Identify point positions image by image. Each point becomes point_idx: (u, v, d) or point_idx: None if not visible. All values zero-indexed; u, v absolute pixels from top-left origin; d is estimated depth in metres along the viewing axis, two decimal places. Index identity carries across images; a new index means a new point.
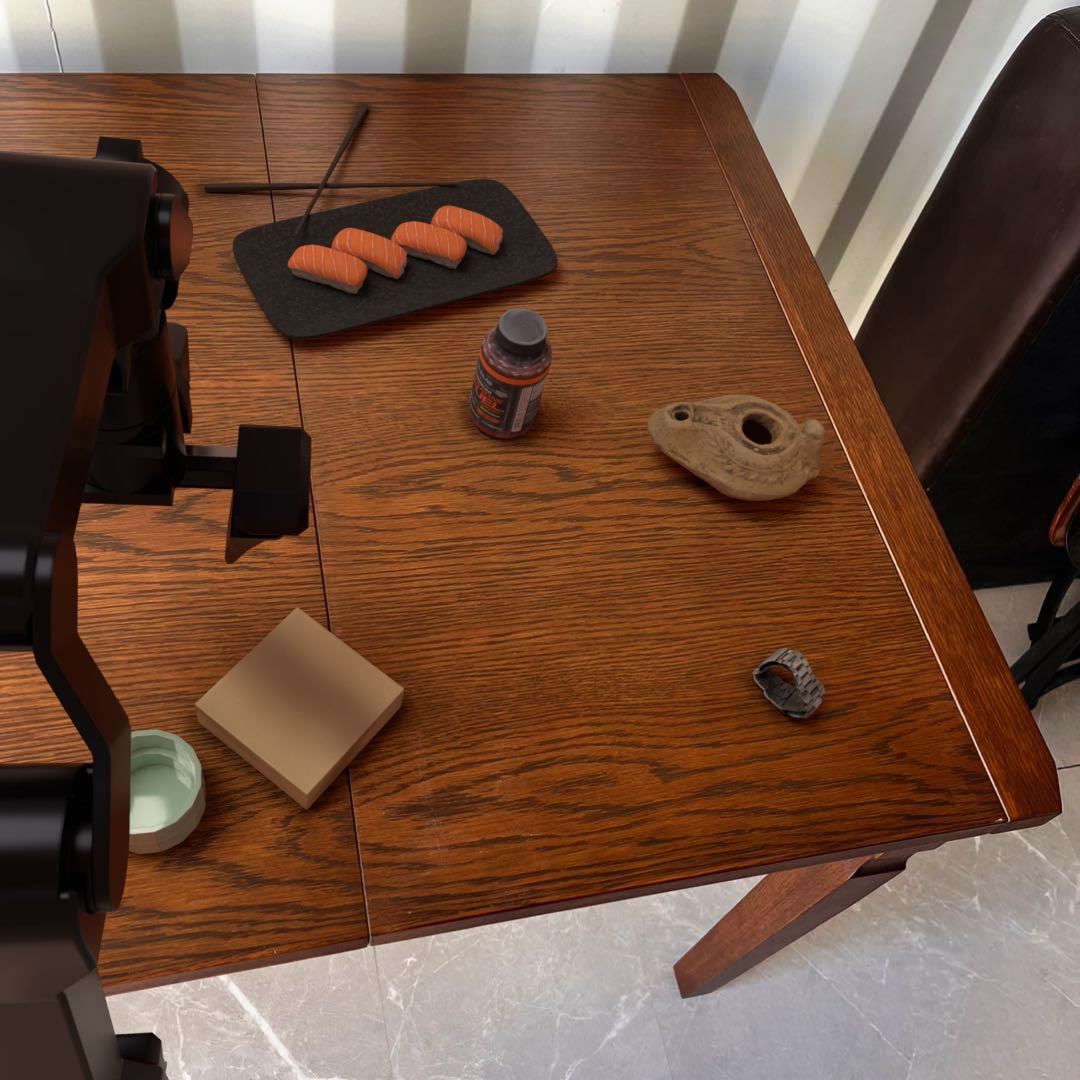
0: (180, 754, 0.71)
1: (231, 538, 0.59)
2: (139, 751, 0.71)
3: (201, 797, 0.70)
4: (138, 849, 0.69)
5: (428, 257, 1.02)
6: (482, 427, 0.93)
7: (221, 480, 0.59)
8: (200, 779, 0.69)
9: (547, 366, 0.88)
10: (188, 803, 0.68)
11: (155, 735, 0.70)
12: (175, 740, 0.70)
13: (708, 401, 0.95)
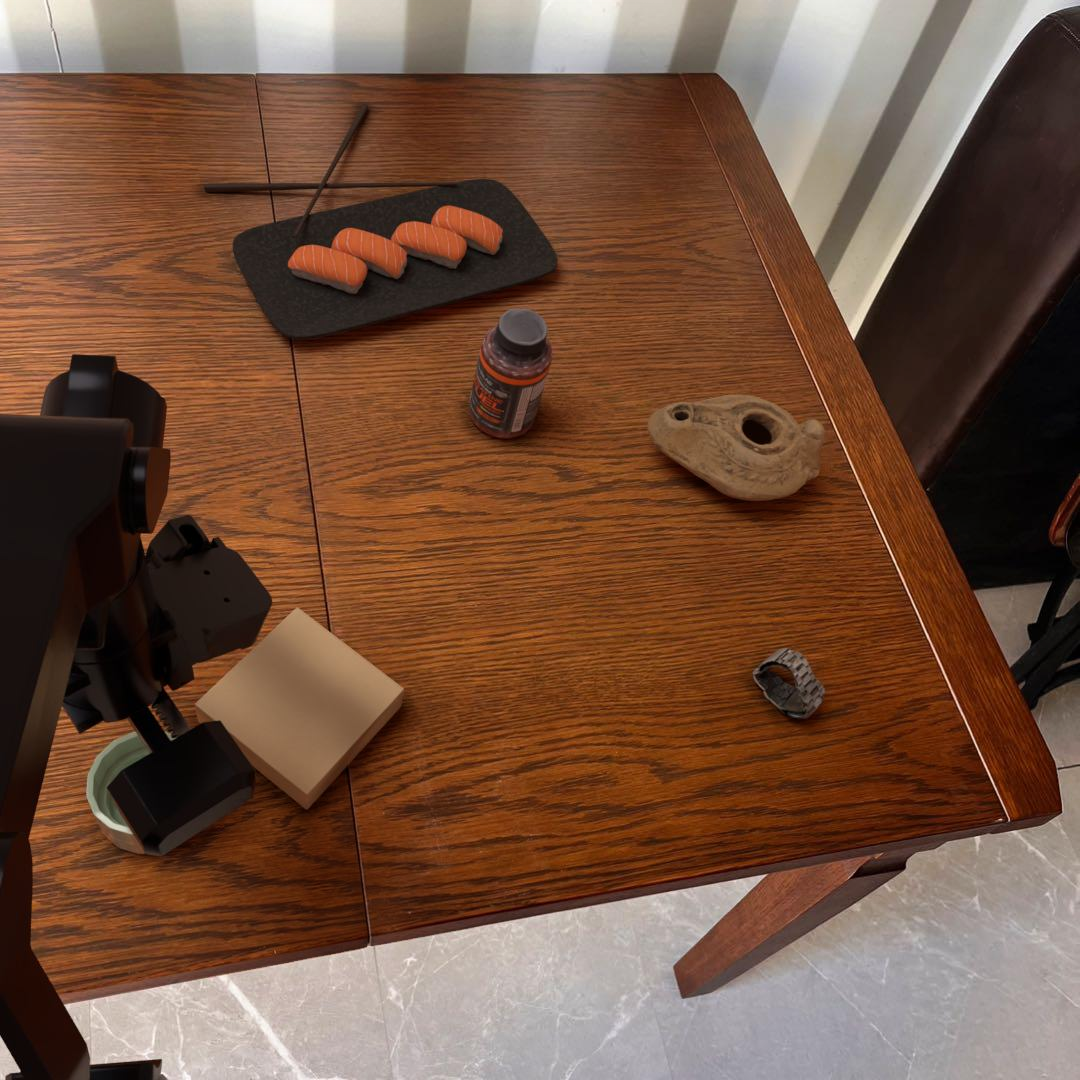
0: None
1: None
2: (139, 751, 0.71)
3: None
4: (138, 849, 0.69)
5: (428, 257, 1.02)
6: (482, 427, 0.93)
7: (148, 749, 0.55)
8: None
9: (547, 366, 0.88)
10: None
11: None
12: None
13: (708, 401, 0.95)
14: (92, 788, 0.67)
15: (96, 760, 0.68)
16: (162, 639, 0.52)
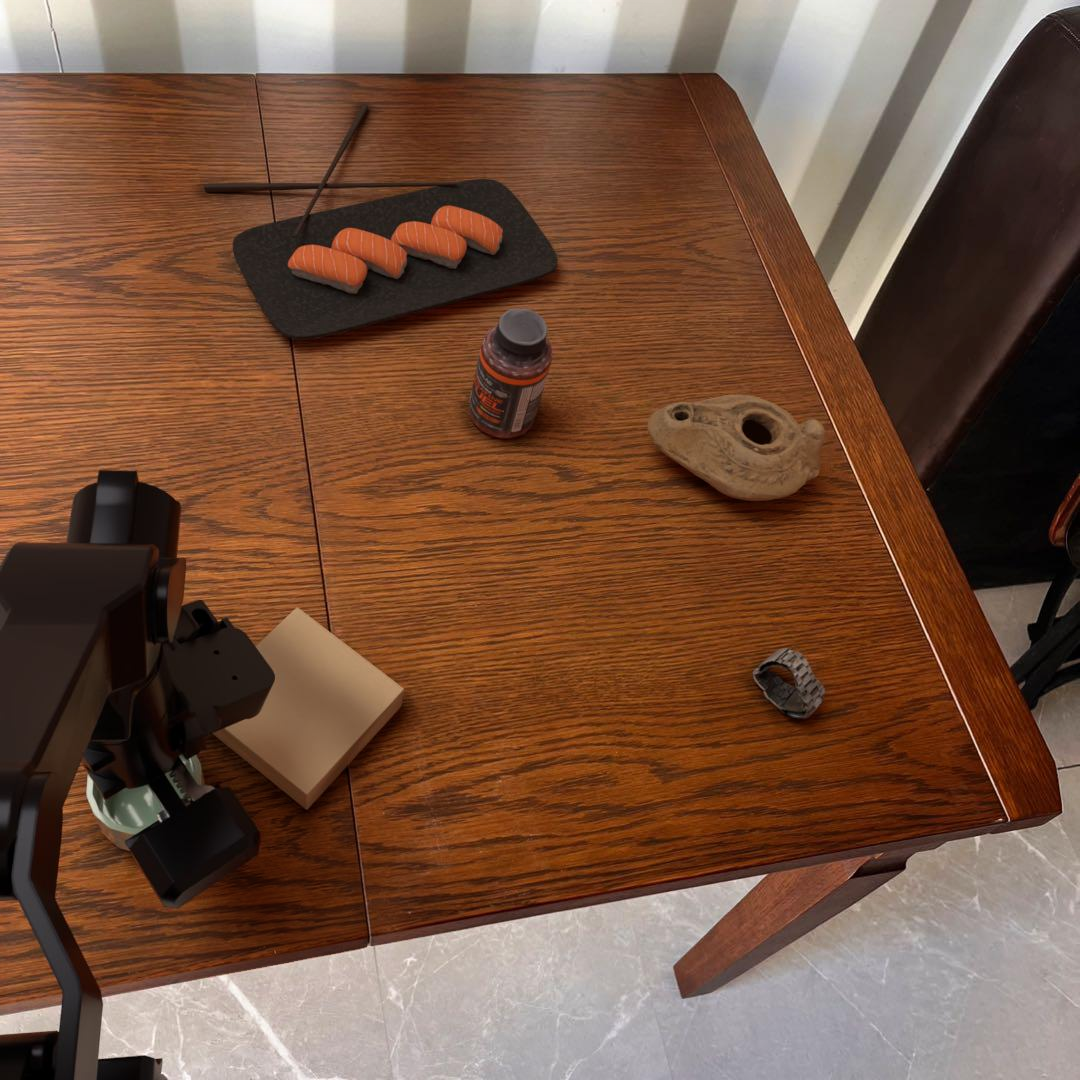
0: None
1: (126, 843, 0.62)
2: None
3: None
4: None
5: (428, 257, 1.02)
6: (482, 427, 0.93)
7: (165, 812, 0.62)
8: (200, 779, 0.69)
9: (547, 366, 0.88)
10: None
11: None
12: None
13: (708, 401, 0.95)
14: (92, 788, 0.67)
15: None
16: (178, 718, 0.59)
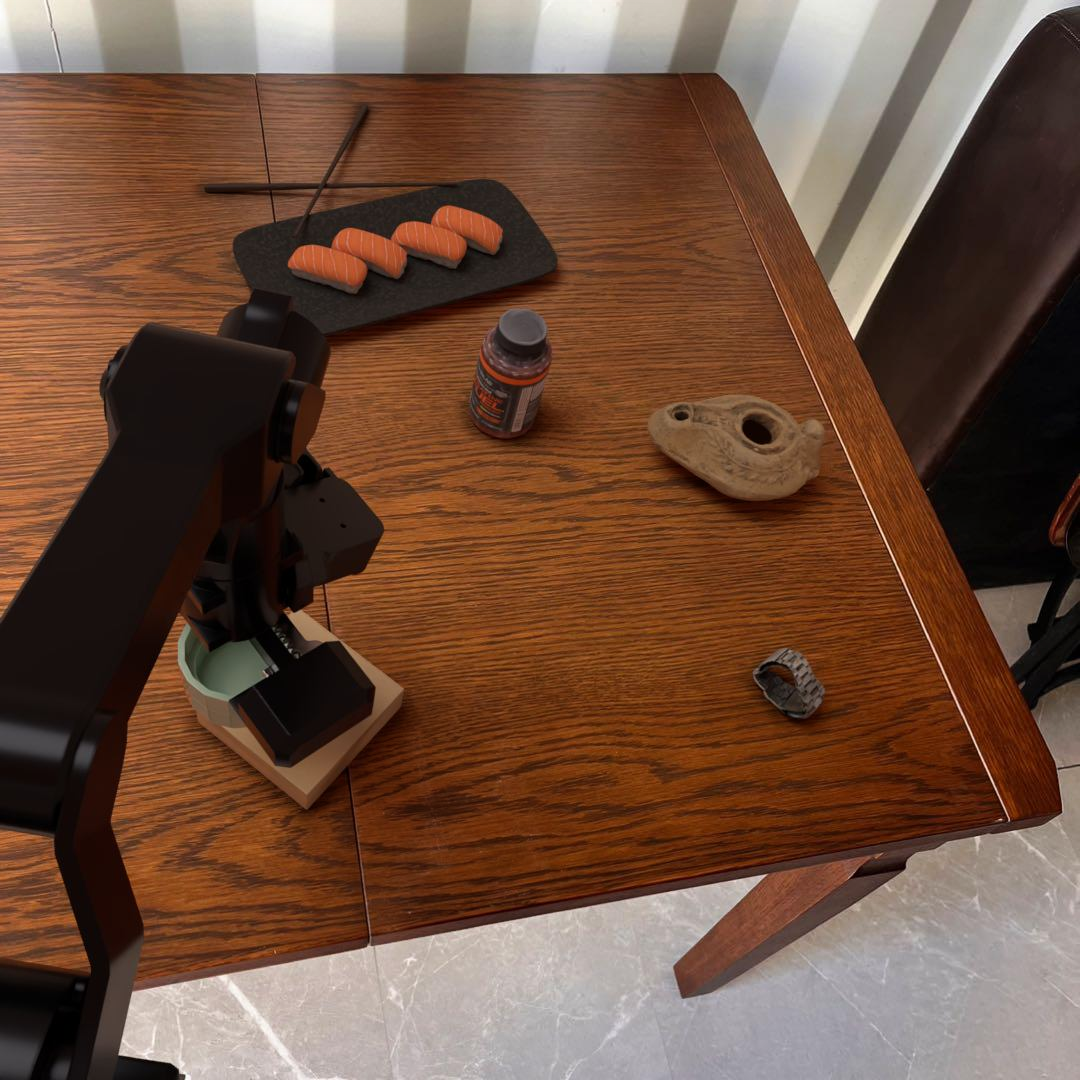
0: None
1: (230, 702, 0.58)
2: None
3: None
4: (231, 722, 0.64)
5: (428, 257, 1.02)
6: (482, 427, 0.93)
7: (273, 668, 0.57)
8: None
9: (547, 366, 0.88)
10: None
11: None
12: None
13: (708, 401, 0.95)
14: (184, 654, 0.63)
15: (186, 626, 0.64)
16: (291, 560, 0.54)
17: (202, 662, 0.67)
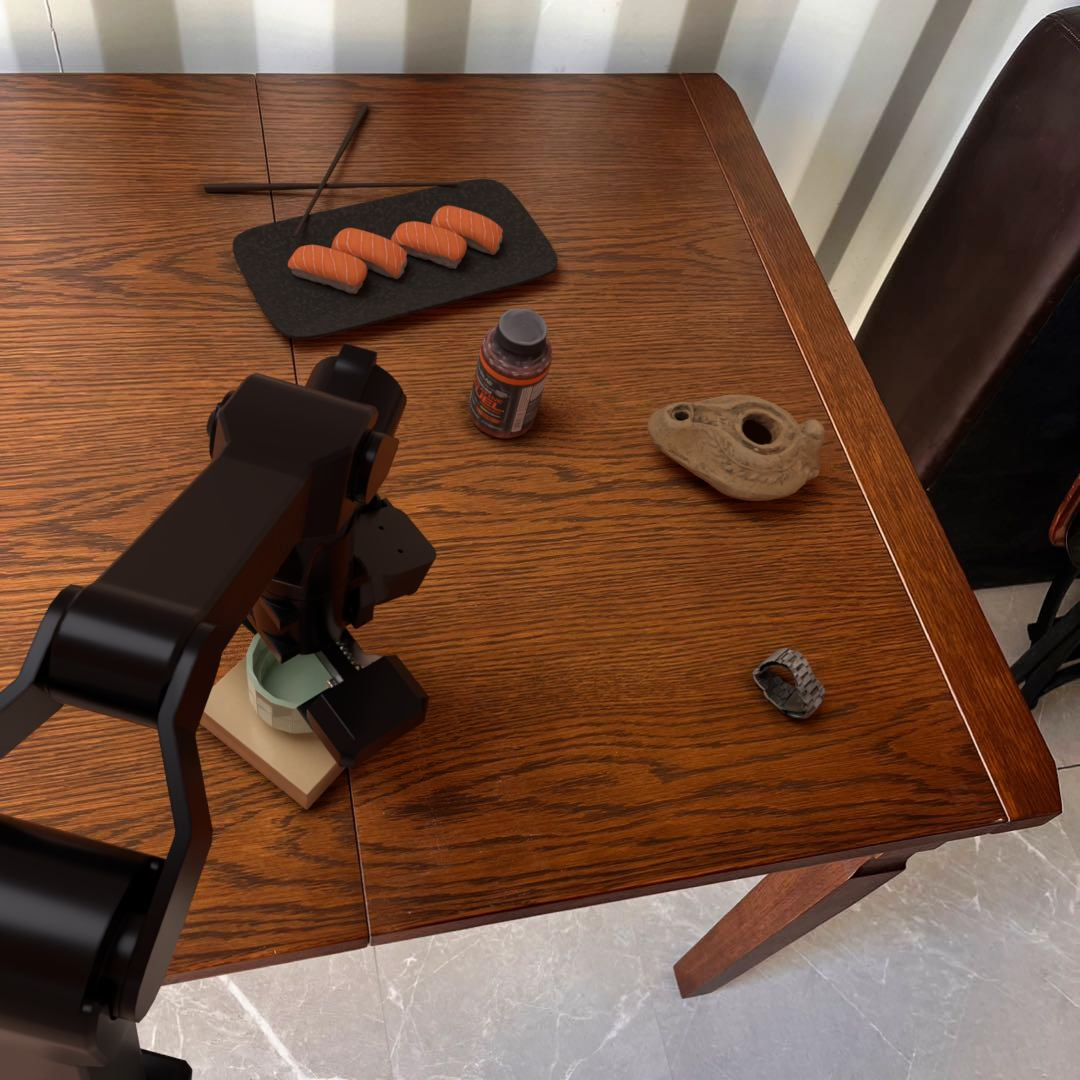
0: None
1: None
2: None
3: None
4: (293, 728, 0.71)
5: (428, 257, 1.02)
6: (482, 427, 0.93)
7: (337, 678, 0.63)
8: None
9: (547, 366, 0.88)
10: None
11: None
12: None
13: (708, 401, 0.95)
14: (252, 665, 0.69)
15: (253, 640, 0.70)
16: (357, 582, 0.61)
17: (265, 673, 0.73)
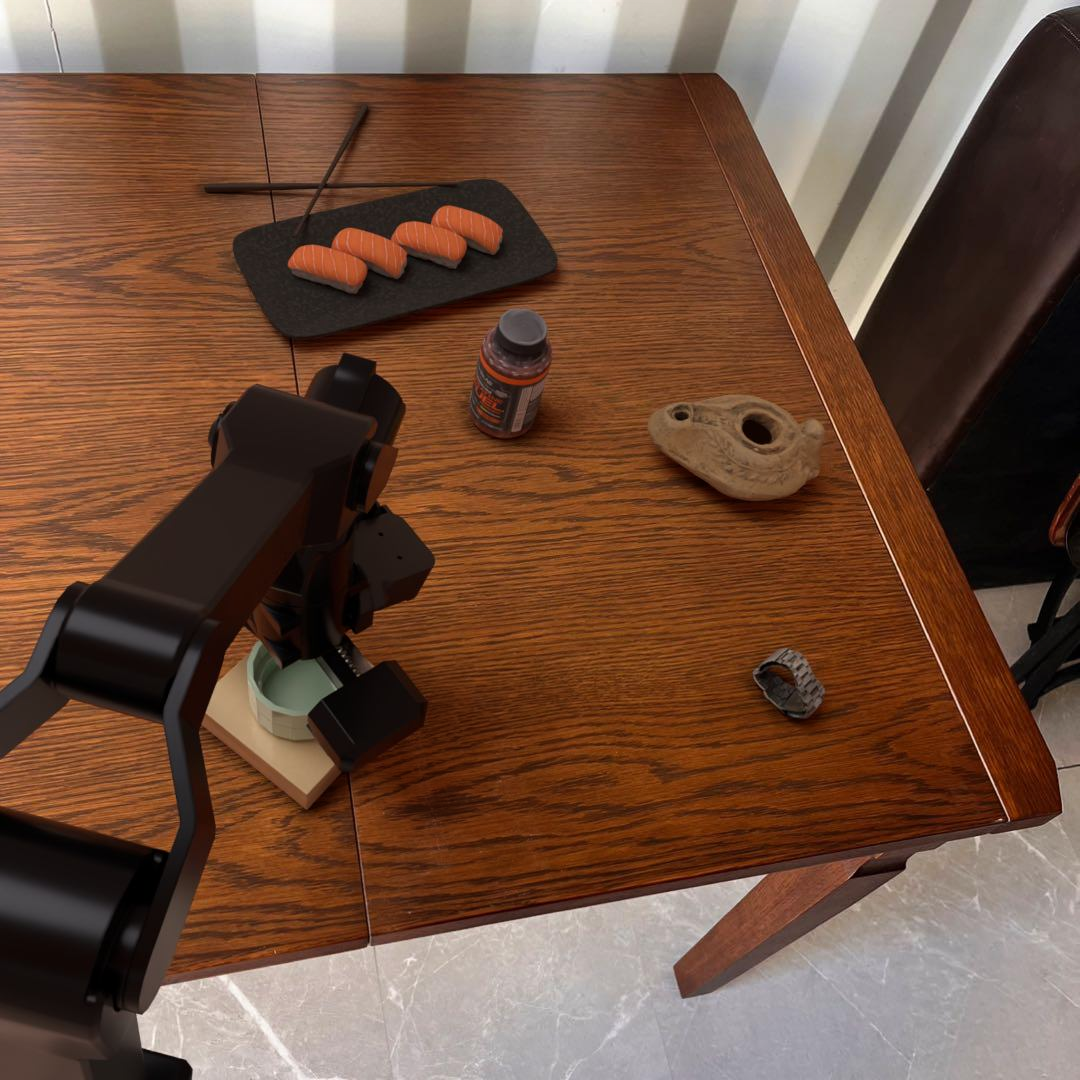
0: None
1: (307, 727, 0.64)
2: None
3: None
4: (293, 735, 0.72)
5: (428, 257, 1.02)
6: (482, 427, 0.93)
7: (337, 683, 0.64)
8: None
9: (547, 366, 0.88)
10: None
11: None
12: None
13: (708, 401, 0.95)
14: (252, 673, 0.70)
15: (254, 648, 0.71)
16: (356, 588, 0.62)
17: (265, 680, 0.74)
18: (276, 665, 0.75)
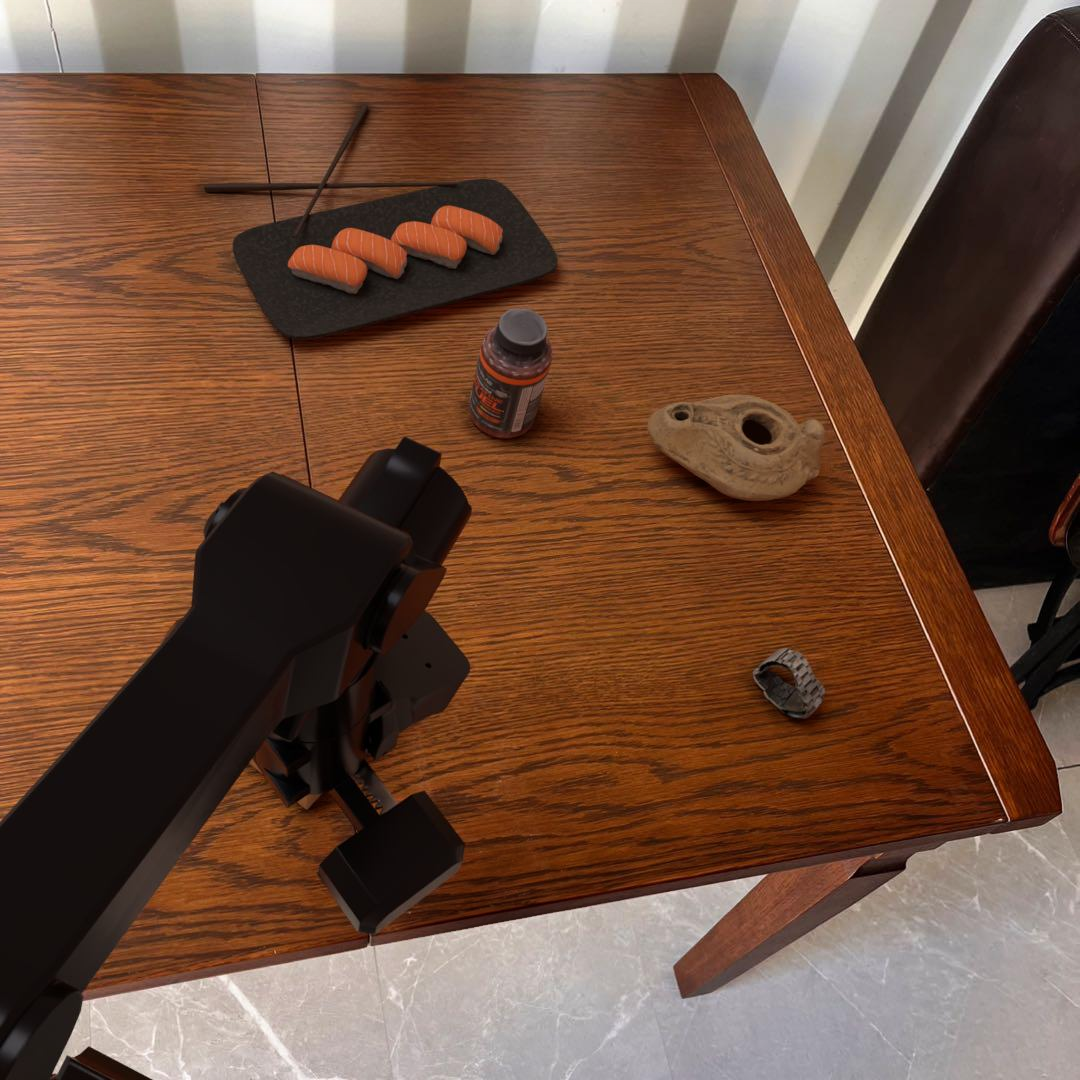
0: None
1: (317, 874, 0.53)
2: None
3: None
4: None
5: (428, 257, 1.02)
6: (482, 427, 0.93)
7: (354, 822, 0.53)
8: None
9: (547, 366, 0.88)
10: None
11: None
12: None
13: (708, 401, 0.95)
14: None
15: None
16: (379, 712, 0.50)
17: None
18: None
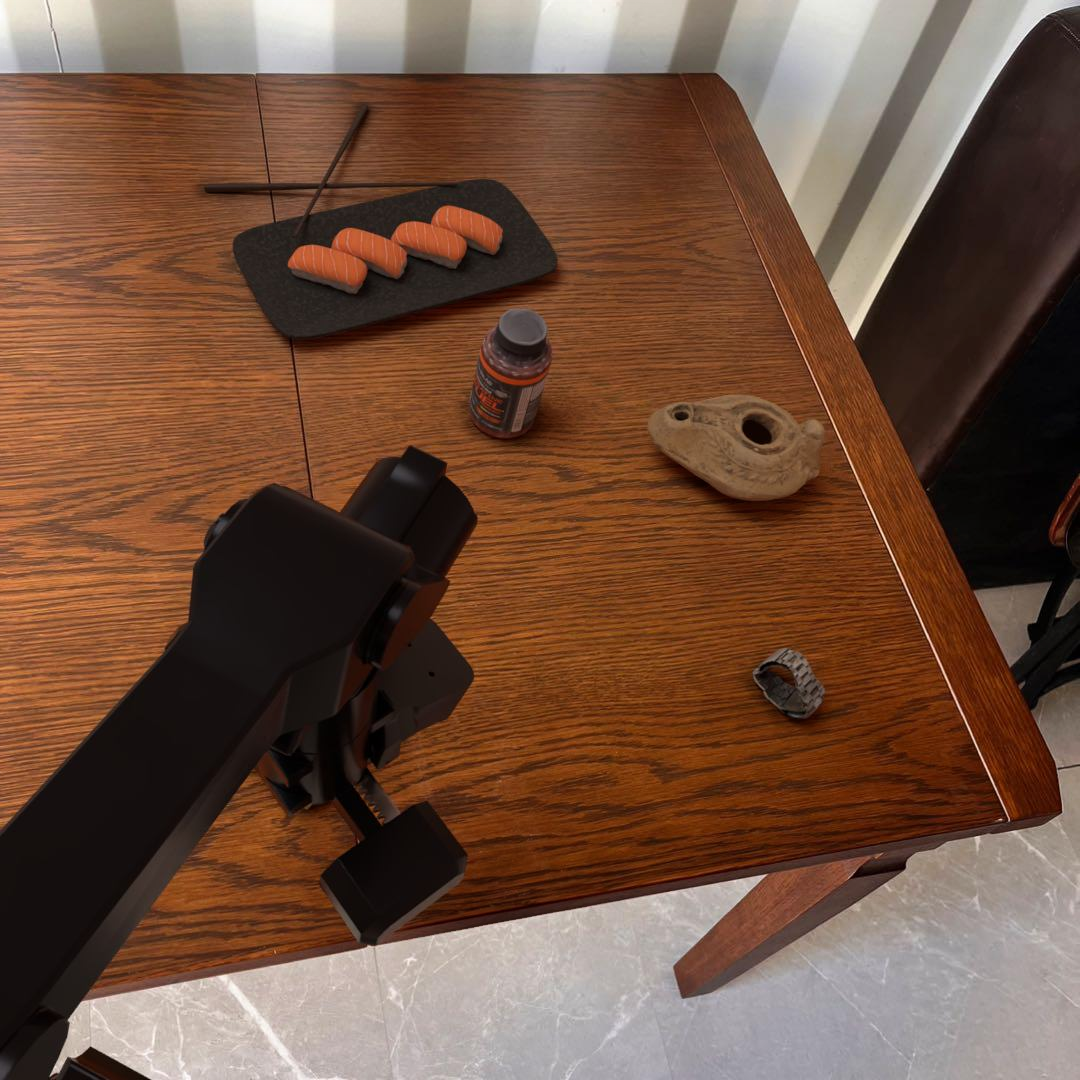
0: None
1: (319, 884, 0.53)
2: None
3: None
4: None
5: (428, 257, 1.02)
6: (482, 427, 0.93)
7: (356, 832, 0.52)
8: None
9: (547, 366, 0.88)
10: None
11: None
12: None
13: (708, 401, 0.95)
14: None
15: None
16: (381, 722, 0.50)
17: None
18: None
